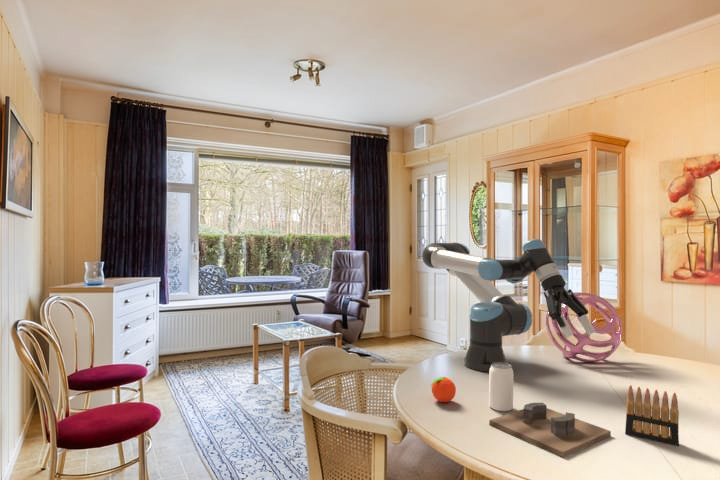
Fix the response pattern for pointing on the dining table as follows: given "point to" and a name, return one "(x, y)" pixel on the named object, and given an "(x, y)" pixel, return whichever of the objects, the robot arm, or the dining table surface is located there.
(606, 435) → the wooden board with blocks
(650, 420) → the ammunition clip
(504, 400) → the can
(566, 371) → the dining table surface
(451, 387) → the clementine
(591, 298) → the pink slotted hollow sphere
